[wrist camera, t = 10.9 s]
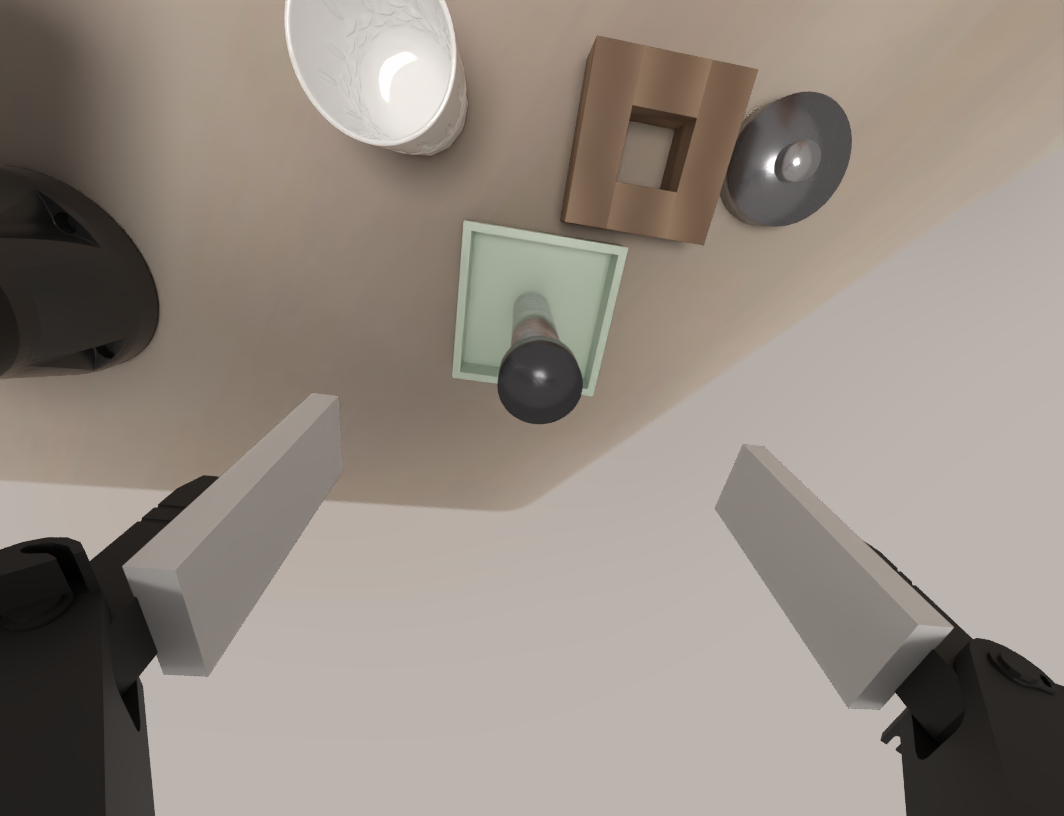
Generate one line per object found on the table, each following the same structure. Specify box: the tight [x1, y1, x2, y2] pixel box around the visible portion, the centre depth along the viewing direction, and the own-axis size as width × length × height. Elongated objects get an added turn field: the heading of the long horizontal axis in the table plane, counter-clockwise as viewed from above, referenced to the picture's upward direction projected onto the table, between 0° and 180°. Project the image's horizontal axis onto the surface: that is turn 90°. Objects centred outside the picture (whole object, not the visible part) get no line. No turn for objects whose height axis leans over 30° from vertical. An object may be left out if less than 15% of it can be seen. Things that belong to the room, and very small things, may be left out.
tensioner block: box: [560, 36, 758, 245], centre depth 28 cm, size 10×10×4 cm
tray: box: [452, 220, 628, 396], centre depth 33 cm, size 12×12×3 cm
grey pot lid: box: [720, 92, 852, 226], centre depth 29 cm, size 8×8×4 cm
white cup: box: [284, 0, 468, 156], centre depth 24 cm, size 8×8×10 cm
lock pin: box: [497, 292, 583, 424], centre depth 27 cm, size 4×4×16 cm
